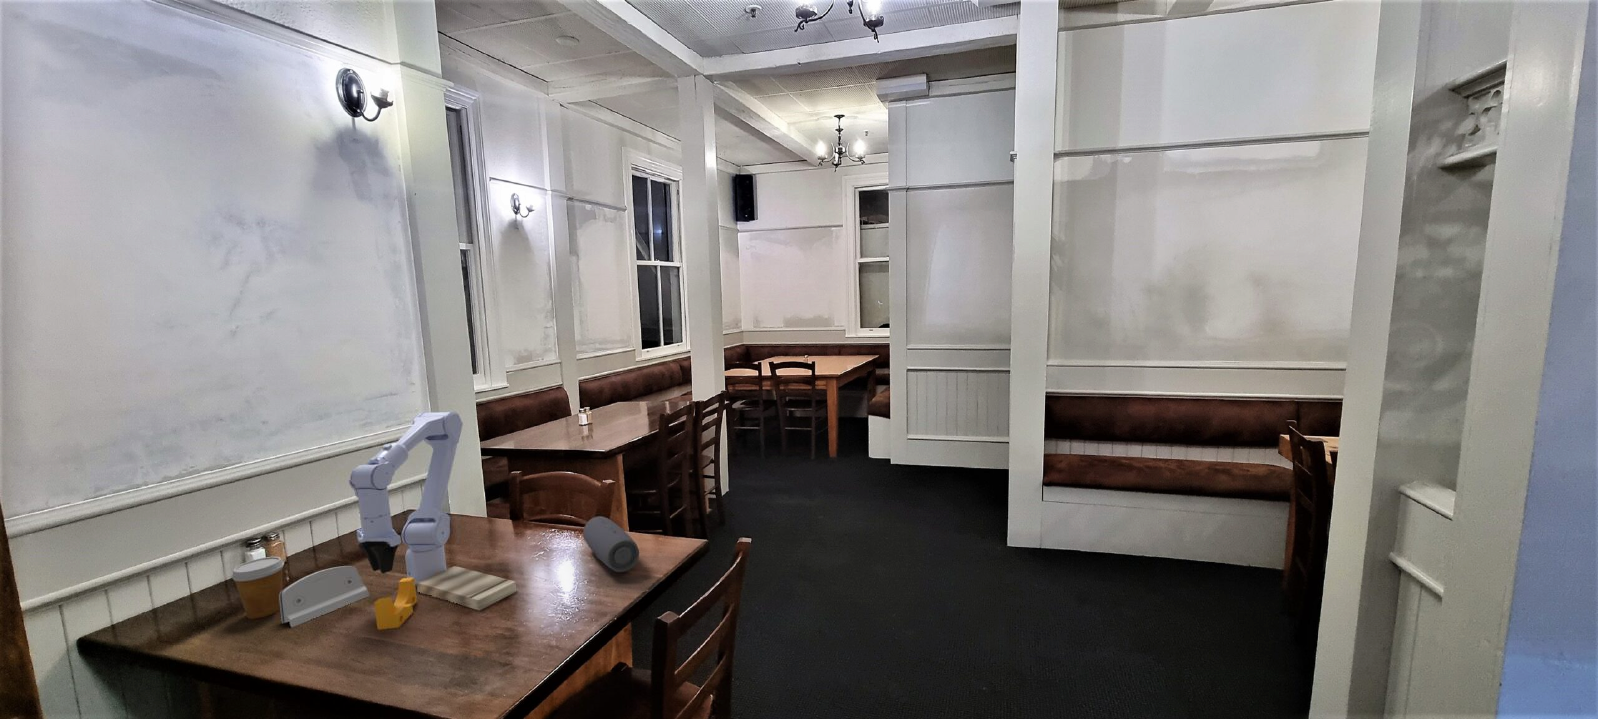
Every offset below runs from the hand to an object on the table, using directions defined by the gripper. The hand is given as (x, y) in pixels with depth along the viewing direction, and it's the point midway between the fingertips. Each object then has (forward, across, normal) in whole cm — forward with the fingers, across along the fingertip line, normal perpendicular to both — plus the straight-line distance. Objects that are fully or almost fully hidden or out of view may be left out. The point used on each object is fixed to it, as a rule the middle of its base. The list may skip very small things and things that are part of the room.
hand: (382, 570), depth 145 cm
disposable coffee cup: (+10, -28, -13) cm, 32 cm away
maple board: (+9, +10, +13) cm, 19 cm away
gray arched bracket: (+10, -16, -6) cm, 19 cm away
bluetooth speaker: (+10, +32, +40) cm, 52 cm away
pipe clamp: (+10, +7, 0) cm, 12 cm away
